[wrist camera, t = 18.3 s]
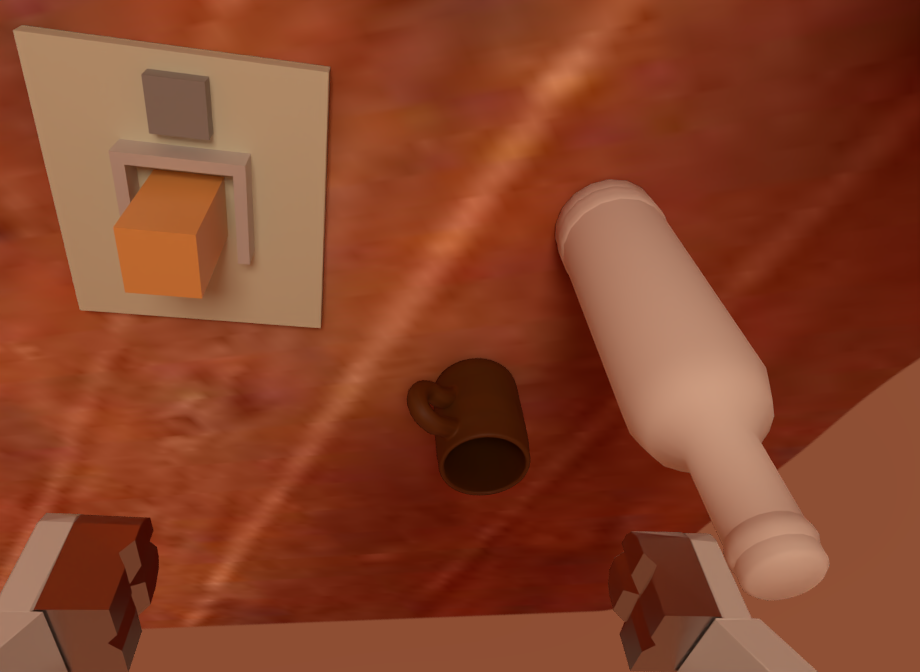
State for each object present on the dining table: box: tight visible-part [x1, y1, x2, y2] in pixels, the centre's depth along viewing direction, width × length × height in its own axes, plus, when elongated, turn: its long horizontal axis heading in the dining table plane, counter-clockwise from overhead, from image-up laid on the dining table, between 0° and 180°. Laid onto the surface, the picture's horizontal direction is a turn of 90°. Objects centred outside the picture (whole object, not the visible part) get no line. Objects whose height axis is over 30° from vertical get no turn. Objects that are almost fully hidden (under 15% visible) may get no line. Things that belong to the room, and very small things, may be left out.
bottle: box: [555, 179, 830, 600], centre depth 39 cm, size 8×8×30 cm
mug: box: [407, 359, 530, 495], centre depth 55 cm, size 12×8×9 cm, turn 44°
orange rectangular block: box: [113, 169, 228, 299], centre depth 42 cm, size 4×4×8 cm
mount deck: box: [13, 25, 330, 328], centre depth 45 cm, size 20×18×3 cm
